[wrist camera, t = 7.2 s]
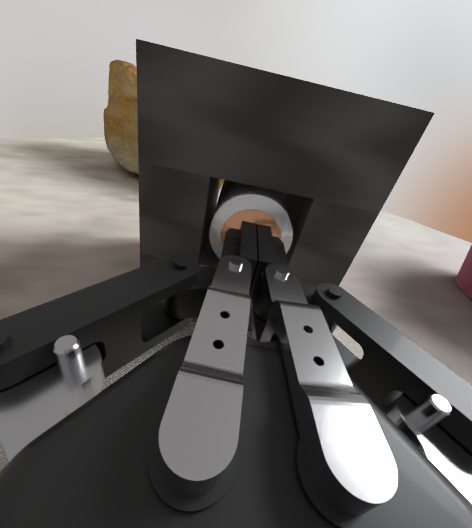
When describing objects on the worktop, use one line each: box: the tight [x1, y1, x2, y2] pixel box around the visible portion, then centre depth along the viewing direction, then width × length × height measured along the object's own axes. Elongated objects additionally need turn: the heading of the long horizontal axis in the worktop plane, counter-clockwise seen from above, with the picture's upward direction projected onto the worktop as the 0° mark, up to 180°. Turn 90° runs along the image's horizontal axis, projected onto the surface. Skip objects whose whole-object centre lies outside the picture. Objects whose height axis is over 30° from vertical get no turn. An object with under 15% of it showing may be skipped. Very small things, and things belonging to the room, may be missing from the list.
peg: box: [209, 180, 293, 259], centre depth 18 cm, size 4×10×4 cm, turn 177°
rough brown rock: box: [104, 60, 224, 189], centre depth 39 cm, size 23×17×15 cm
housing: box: [136, 39, 434, 331], centre depth 18 cm, size 12×10×14 cm
